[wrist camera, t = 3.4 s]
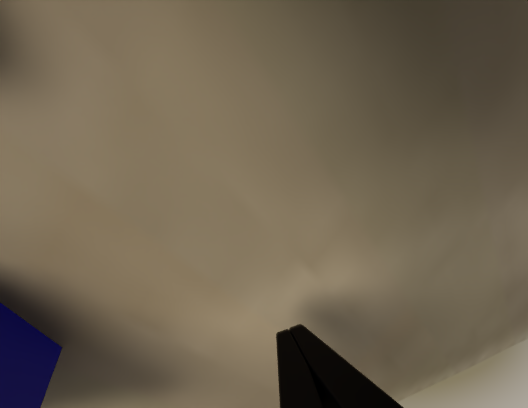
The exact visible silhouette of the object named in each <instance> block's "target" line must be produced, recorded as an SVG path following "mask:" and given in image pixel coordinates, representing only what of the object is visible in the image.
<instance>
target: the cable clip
mask: <svg viewBox="0 0 528 408" xmlns="http://www.w3.org/2000/svg"><path fill="white" fill-rule="evenodd" d="M61 349H62V347H61V346H59V345H58V344H56V343H55V342H54V341H52V340H51V339H50V338H48V337H47V336H46V335H44V334H43V333H41V332H40V331H39V330H37V329H36V328H35V327H33V326H32V325H30V324H29V323H28V322H26V321H25V320H24V319H22V318H21V317H19V316H18V315H17V314H15V313H14V312H13V311H11V310H10V309H9V308H7V307H6V306H4V305H3V304H2V303H0V408H40V407H41V404H42V401H43V399H44V396H45V393H46V390H47V388H48V385H49V382H50V379H51V377H52V374H53V371H54V368H55V366H56V363H57V360H58V358H59V355H60V352H61Z"/></svg>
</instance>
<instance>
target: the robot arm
mask: <svg viewBox="0 0 528 408" xmlns="http://www.w3.org/2000/svg"><path fill="white" fill-rule="evenodd" d="M276 340H277V358H278V377H279V396H280V408H403V407H402V406H401V405H400V404H398V403H397V402H396V401H395V400H394V399H392V398H391V397H390V396H389V395H387V394H386V393H385V392H384V391H383V390H381V389H380V388H379V387H378V386H376V385H375V384H374V383H373V382H372V381H370V380H369V379H368V378H367V377H366V376H364V375H363V374H362V373H361V372H359V371H358V370H357V369H356V368H355V367H353V366H352V365H351V364H350V363H348V362H347V361H346V360H345V359H344V358H342V357H341V356H340V355H339V354H337V353H336V352H335V351H334V350H333V349H331V348H330V347H329V346H328V345H326V344H325V343H324V342H323V341H322V340H320V339H319V338H318V337H317V336H315V335H314V334H313V333H312V332H311V331H309V330H308V329H307V328H306V327H304V326H303V325H301V324H299V325H296V326H294V327H291V328H290V329H289V330H288V329H286V330H283V331H280V332H278V333H277V334H276Z"/></svg>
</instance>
